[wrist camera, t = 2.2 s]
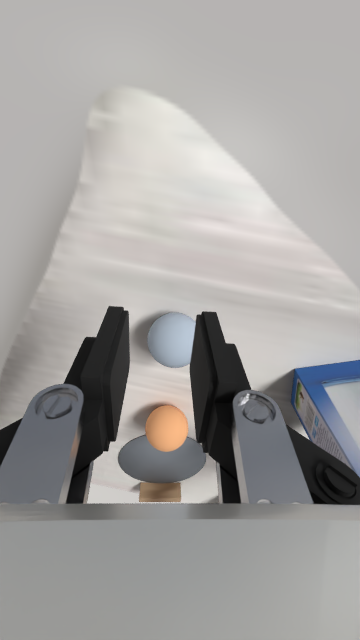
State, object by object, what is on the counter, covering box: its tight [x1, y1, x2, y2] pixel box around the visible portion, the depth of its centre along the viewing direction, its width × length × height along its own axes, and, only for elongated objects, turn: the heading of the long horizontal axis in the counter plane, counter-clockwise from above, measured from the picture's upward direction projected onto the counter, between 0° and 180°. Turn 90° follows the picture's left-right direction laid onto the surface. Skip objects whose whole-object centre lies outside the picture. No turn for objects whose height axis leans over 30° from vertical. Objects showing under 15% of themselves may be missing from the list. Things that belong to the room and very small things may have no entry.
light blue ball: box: [148, 313, 196, 368], centre depth 26 cm, size 6×6×6 cm
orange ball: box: [145, 405, 188, 452], centre depth 34 cm, size 6×6×6 cm
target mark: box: [119, 435, 206, 483], centre depth 42 cm, size 14×14×1 cm
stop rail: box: [139, 483, 181, 502], centre depth 45 cm, size 7×1×2 cm, turn 85°
